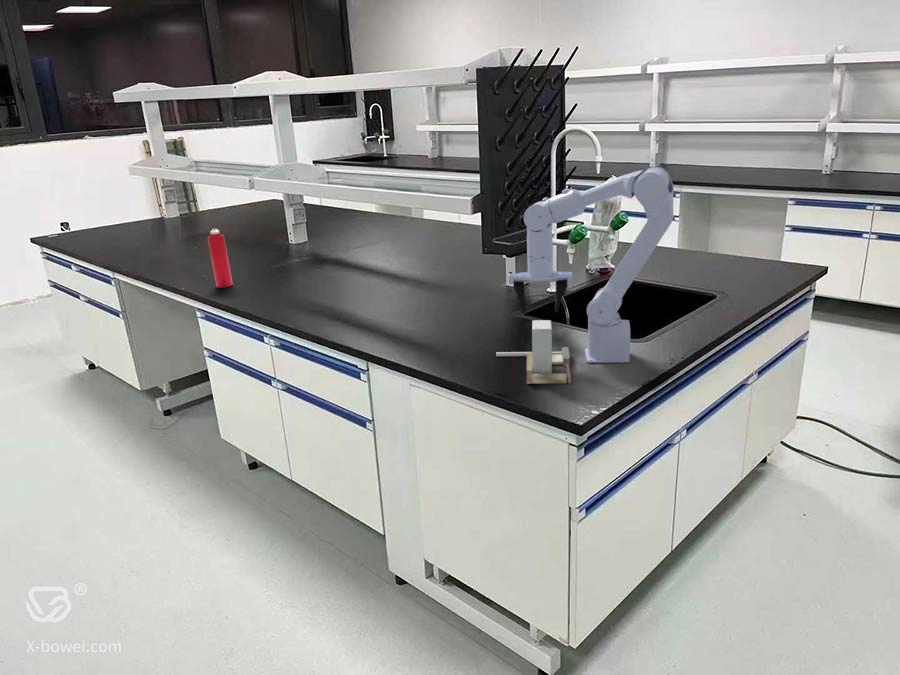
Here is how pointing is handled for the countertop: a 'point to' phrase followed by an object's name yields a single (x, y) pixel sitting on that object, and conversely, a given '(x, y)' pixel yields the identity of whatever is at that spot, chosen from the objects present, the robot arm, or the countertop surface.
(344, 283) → the countertop surface
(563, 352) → the rail
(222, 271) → the bottle
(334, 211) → the countertop surface
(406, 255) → the countertop surface
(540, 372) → the skincare box
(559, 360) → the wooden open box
